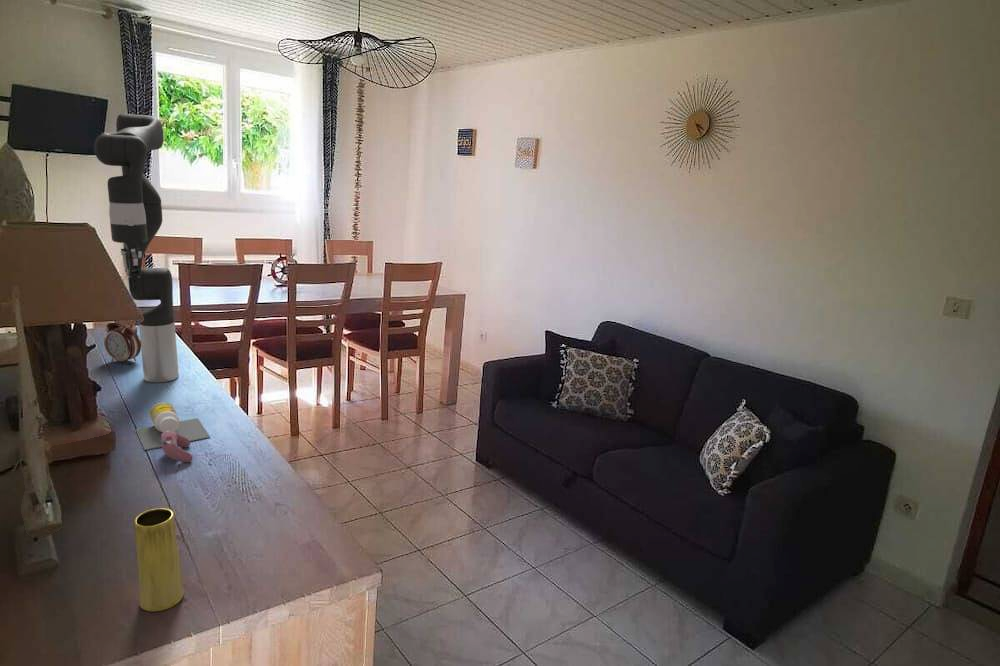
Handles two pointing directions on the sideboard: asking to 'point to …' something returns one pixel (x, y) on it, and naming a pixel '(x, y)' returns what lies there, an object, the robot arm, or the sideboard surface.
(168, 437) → the video game controller
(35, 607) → the sideboard surface
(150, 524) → the vase
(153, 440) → the mat
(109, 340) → the alarm clock
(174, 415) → the supplement bottle
